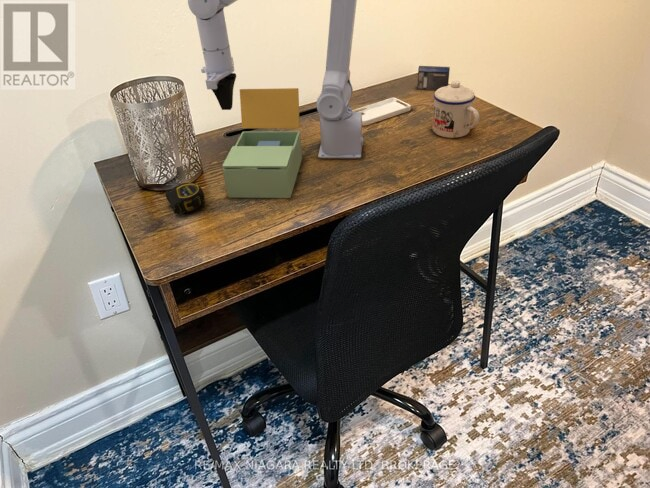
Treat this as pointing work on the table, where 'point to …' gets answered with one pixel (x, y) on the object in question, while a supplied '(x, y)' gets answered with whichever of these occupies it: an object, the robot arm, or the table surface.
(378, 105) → the phone case
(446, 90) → the teacup with lid
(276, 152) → the green open box
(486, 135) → the table surface
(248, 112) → the lid
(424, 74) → the mini dv tape
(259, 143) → the cube
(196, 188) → the tape measure
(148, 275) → the table surface
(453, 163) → the table surface
